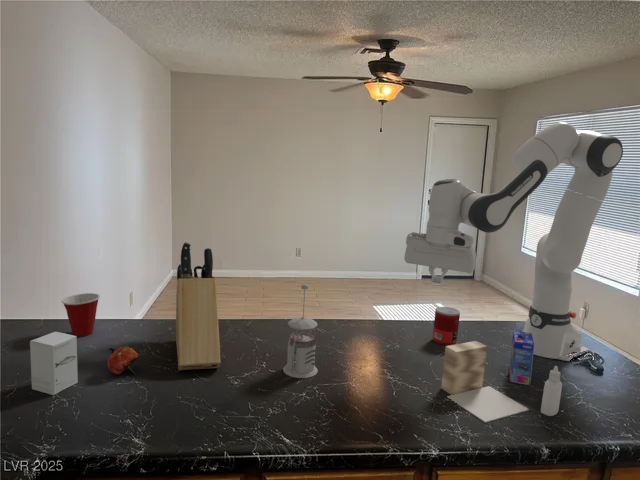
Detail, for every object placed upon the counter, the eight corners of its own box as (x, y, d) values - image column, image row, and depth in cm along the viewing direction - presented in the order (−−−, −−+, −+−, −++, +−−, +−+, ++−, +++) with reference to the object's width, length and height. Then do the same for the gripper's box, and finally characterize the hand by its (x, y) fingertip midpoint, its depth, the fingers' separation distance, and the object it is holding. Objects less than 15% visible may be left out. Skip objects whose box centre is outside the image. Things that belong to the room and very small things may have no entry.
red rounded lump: (141, 375, 132) (118, 349, 134) (151, 360, 128) (128, 333, 130) (119, 389, 126) (95, 361, 128) (129, 374, 122) (105, 345, 124)
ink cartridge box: (507, 368, 145) (513, 322, 143) (527, 371, 143) (534, 325, 141) (509, 382, 136) (515, 333, 133) (530, 386, 134) (537, 336, 132)
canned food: (457, 347, 159) (461, 315, 157) (432, 343, 161) (435, 312, 159) (455, 338, 167) (459, 308, 165) (432, 335, 168) (435, 305, 166)
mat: (488, 387, 132) (489, 386, 132) (528, 410, 121) (528, 409, 121) (447, 397, 125) (447, 396, 125) (485, 422, 114) (485, 421, 114)
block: (471, 381, 135) (476, 340, 133) (482, 387, 132) (487, 346, 129) (441, 388, 130) (445, 346, 128) (451, 395, 126) (456, 352, 124)
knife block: (209, 327, 164) (211, 238, 159) (221, 373, 131) (223, 262, 126) (175, 329, 161) (175, 238, 155) (178, 376, 128) (178, 263, 123)
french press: (323, 367, 138) (328, 283, 134) (305, 383, 128) (310, 293, 124) (293, 359, 142) (297, 277, 138) (273, 375, 132) (276, 286, 128)
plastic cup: (70, 327, 158) (69, 291, 156) (105, 327, 159) (104, 292, 157) (56, 339, 147) (55, 301, 145) (93, 340, 148) (92, 302, 146)
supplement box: (53, 396, 115) (51, 346, 113) (31, 389, 117) (28, 340, 115) (79, 383, 122) (77, 335, 119) (56, 377, 124) (54, 330, 122)
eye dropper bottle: (533, 407, 122) (540, 363, 120) (553, 406, 123) (559, 362, 121) (545, 417, 118) (552, 371, 116) (565, 415, 119) (572, 370, 117)
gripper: (403, 232, 141) (399, 278, 143) (475, 242, 131) (469, 291, 134) (410, 230, 146) (406, 274, 149) (479, 239, 137) (474, 286, 139)
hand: (436, 282), depth 141 cm, fingers closed
